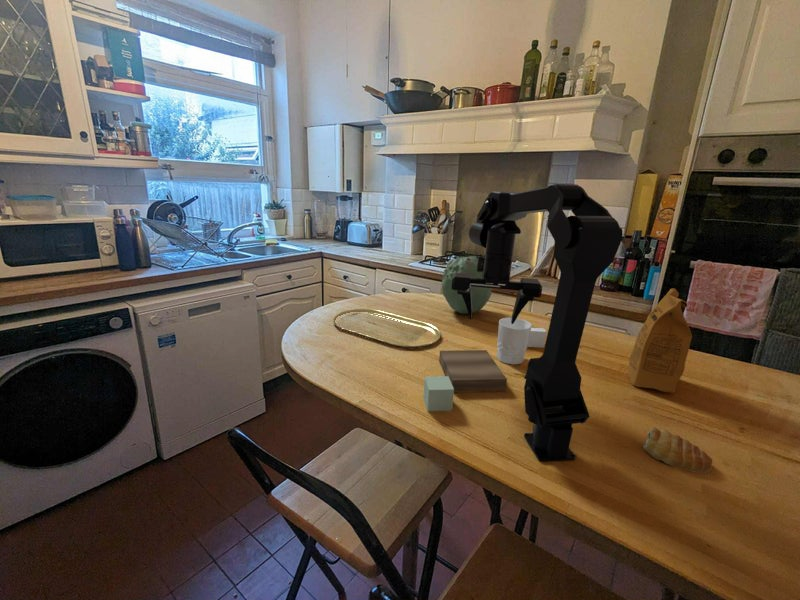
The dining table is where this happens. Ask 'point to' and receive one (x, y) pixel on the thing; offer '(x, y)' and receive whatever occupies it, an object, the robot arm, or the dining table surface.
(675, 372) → the coffee package
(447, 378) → the sage cube
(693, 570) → the dining table surface
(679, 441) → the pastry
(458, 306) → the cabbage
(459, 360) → the walnut block
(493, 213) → the robot arm
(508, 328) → the white cup
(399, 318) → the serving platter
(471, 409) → the dining table surface
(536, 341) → the napkin holder
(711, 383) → the dining table surface
